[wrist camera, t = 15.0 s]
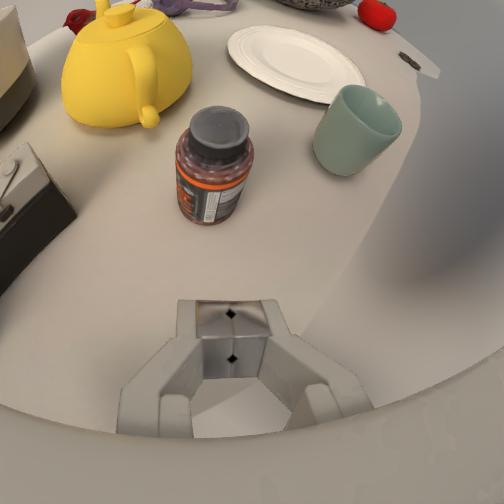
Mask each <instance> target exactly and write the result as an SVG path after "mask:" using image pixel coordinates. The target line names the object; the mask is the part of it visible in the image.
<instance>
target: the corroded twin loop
mask: <svg viewBox="0 0 504 504" xmlns="http://www.w3.org/2000/svg"><path fill="white" fill-rule="evenodd" d="M399 55H400V56H401V57H402V58H403V59H404V60H405V61H407V62H409V63H410V64H411V65H412V66H414V67H415V68H416V69H421V67H420V66H419V65H418V64H417V63H416V62H415V61H413V60H412V59H411V58H410V57H409V56H407V55H406V54H404V53H402V52H400V54H399Z"/></svg>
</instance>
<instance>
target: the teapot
mask: <svg viewBox="0 0 504 504" xmlns="http://www.w3.org/2000/svg"><path fill="white" fill-rule="evenodd" d="M95 2H96V20H94V21H92V22H91V23H89V24H88V25H86V26H85V27H84V28H83V29H82V30H81V31H80V32H79V33H78V34H77V36H76V38H75V40H74V42H73V44H72V46H71V48H70V51H69V53H68V56H67V59H66V61H65V65H64V68H63V73H62V80H61V90H62V99H63V103H64V106H65V109H66V111H67V113H68V114H69V115H70V116H71V117H72V118H73V119H75V120H76V121H78V122H79V123H82V124H85V125H88V126H93V127H100V128H118V127H124V126H129V125H133V124H136V123H139V122H141V124H142V126H143V127H145V128H154V127H155V126H157V125H158V124H159V123H160V117H159V114H158V113H160V112H162V111H163V110H165V109H166V108H168V107H169V106H170V105H171V104H173V103H174V102H175V101H176V100H177V99H178V98H179V97H180V96H181V95H182V94H183V93H184V92H185V90H186V89H187V87H188V85H189V83H190V81H191V78H192V59H191V55H190V51H189V48H188V45H187V43H186V41H185V39H184V37H183V36H182V34H181V32H180V31H179V30H178V28H177V27H176V26H175V25H174V23H173V22H172V21H171V20H170V19H169V18H168V17H167V16H166V15H165V14H164V13H163V12H161V11H159V10H156V9H151V8H135V7H136V5H134V4H121V5H117V6H114V7H111V5H110V2H109V0H95Z"/></svg>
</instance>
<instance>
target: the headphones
mask: <svg viewBox="0 0 504 504" xmlns="http://www.w3.org/2000/svg"><path fill="white" fill-rule="evenodd" d="M151 1H152V2H153V7H154V9H156V10H159V11H161V12H163V13H164V14H165V15H167V16H173V15H177V14H180V13H182V12H184V11H185V10H187V9H188V8H190V9H199V10H219V11H231V10H234V9H235V7H236V5H237V3H238V0H225V1H227V2H228V3H229V4H222V5H214V4H212V3H202V2H193V0H151Z"/></svg>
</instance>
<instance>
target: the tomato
mask: <svg viewBox="0 0 504 504" xmlns="http://www.w3.org/2000/svg"><path fill="white" fill-rule="evenodd" d="M358 15H359V17H360V19H361V20H362V21H363V22H364V23H366V24H367V25H368V26H370V27H372V28H374V29H376V30H379V31H388V30H390V29H391V28H392V27H393V25H394V23H395V21H396V19H397V18H396V13H395V11H394V10H393V9H391V8H390V7H389V6H387V5H386V3H382V2H379V1H377V0H363V1H362V2H361V3H360V4H359V6H358Z"/></svg>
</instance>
